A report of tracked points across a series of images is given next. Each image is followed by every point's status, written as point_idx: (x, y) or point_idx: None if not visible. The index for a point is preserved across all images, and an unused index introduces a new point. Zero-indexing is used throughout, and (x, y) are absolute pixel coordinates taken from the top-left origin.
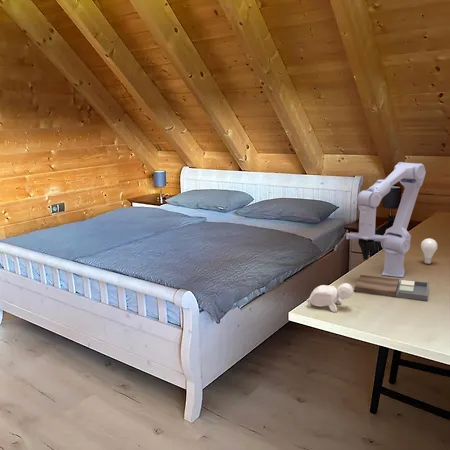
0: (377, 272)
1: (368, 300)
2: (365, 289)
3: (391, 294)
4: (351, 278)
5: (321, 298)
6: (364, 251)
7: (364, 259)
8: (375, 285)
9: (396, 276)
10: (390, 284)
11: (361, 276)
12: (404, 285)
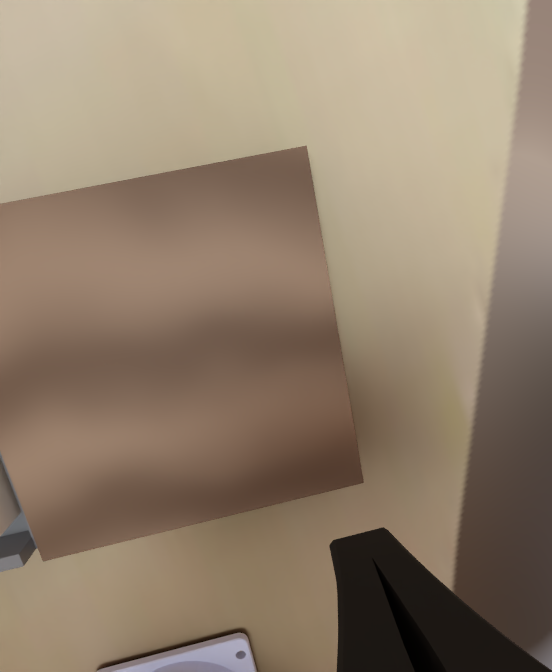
0: (294, 664)
1: (115, 15)
2: (202, 169)
3: None
4: (416, 451)
5: None
6: (445, 655)
7: (370, 532)
8: (151, 293)
9: (141, 658)
10: (45, 393)
11: (343, 449)
12: None
